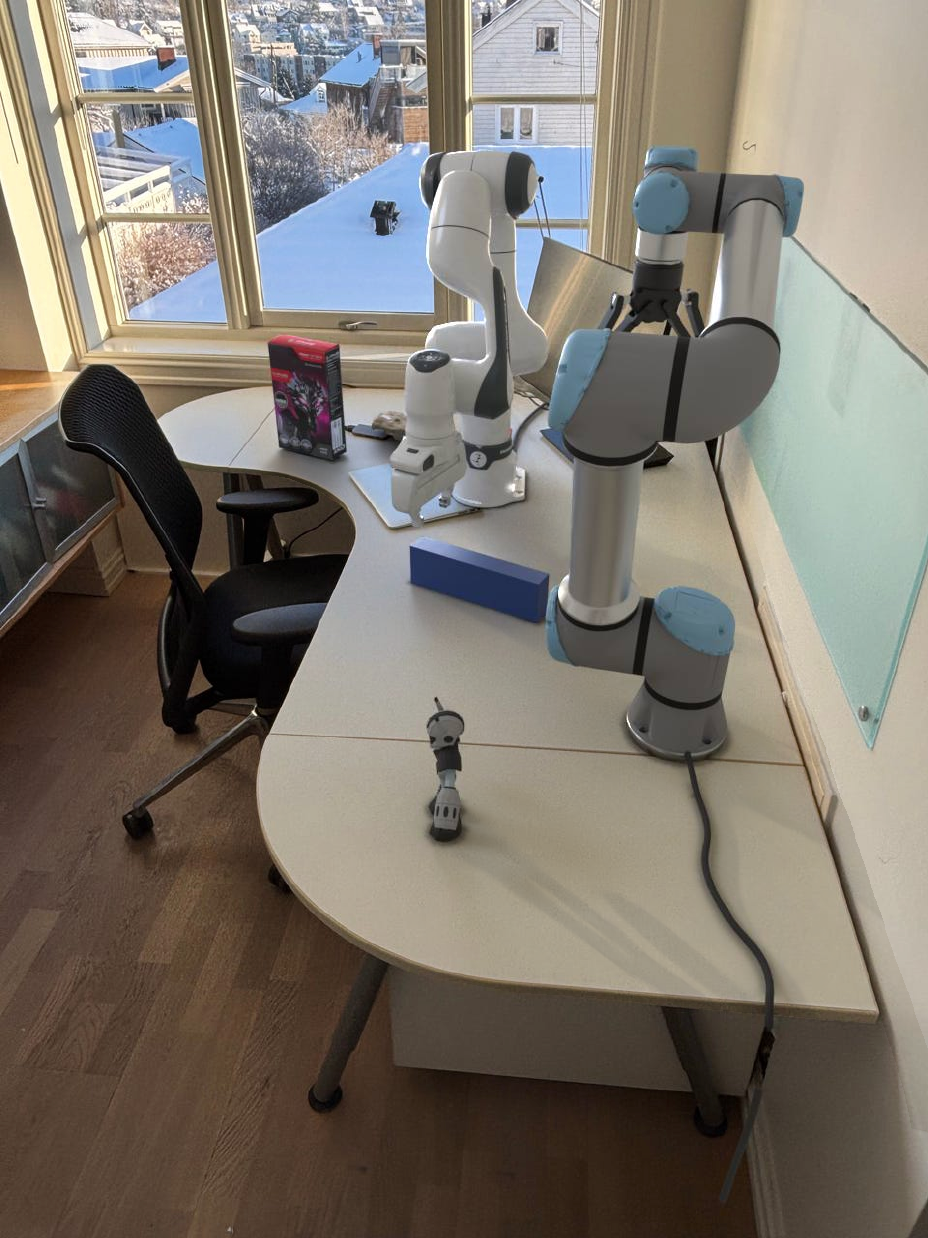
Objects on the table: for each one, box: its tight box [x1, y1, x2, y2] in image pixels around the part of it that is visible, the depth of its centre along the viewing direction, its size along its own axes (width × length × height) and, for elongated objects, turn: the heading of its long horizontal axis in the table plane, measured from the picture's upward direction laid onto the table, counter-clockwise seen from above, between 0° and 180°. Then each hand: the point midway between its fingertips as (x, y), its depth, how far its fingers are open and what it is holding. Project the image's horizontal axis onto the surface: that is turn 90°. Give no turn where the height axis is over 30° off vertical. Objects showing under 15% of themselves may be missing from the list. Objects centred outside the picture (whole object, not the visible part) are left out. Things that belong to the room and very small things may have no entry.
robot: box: [425, 696, 465, 842], centre depth 121 cm, size 20×5×20 cm, turn 3°
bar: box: [409, 535, 551, 624], centre depth 172 cm, size 27×4×8 cm, turn 60°
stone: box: [371, 410, 407, 442], centre depth 234 cm, size 21×15×6 cm
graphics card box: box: [267, 333, 348, 461], centre depth 223 cm, size 17×7×27 cm, turn 62°
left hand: (431, 515), depth 171 cm, fingers open, 8 cm apart
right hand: (643, 394), depth 152 cm, fingers open, 13 cm apart
